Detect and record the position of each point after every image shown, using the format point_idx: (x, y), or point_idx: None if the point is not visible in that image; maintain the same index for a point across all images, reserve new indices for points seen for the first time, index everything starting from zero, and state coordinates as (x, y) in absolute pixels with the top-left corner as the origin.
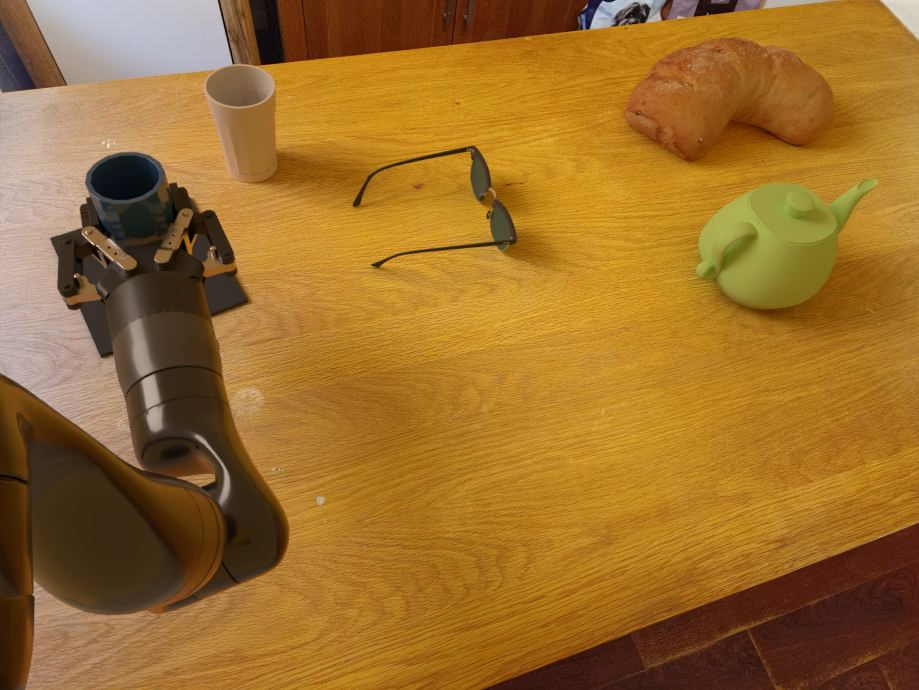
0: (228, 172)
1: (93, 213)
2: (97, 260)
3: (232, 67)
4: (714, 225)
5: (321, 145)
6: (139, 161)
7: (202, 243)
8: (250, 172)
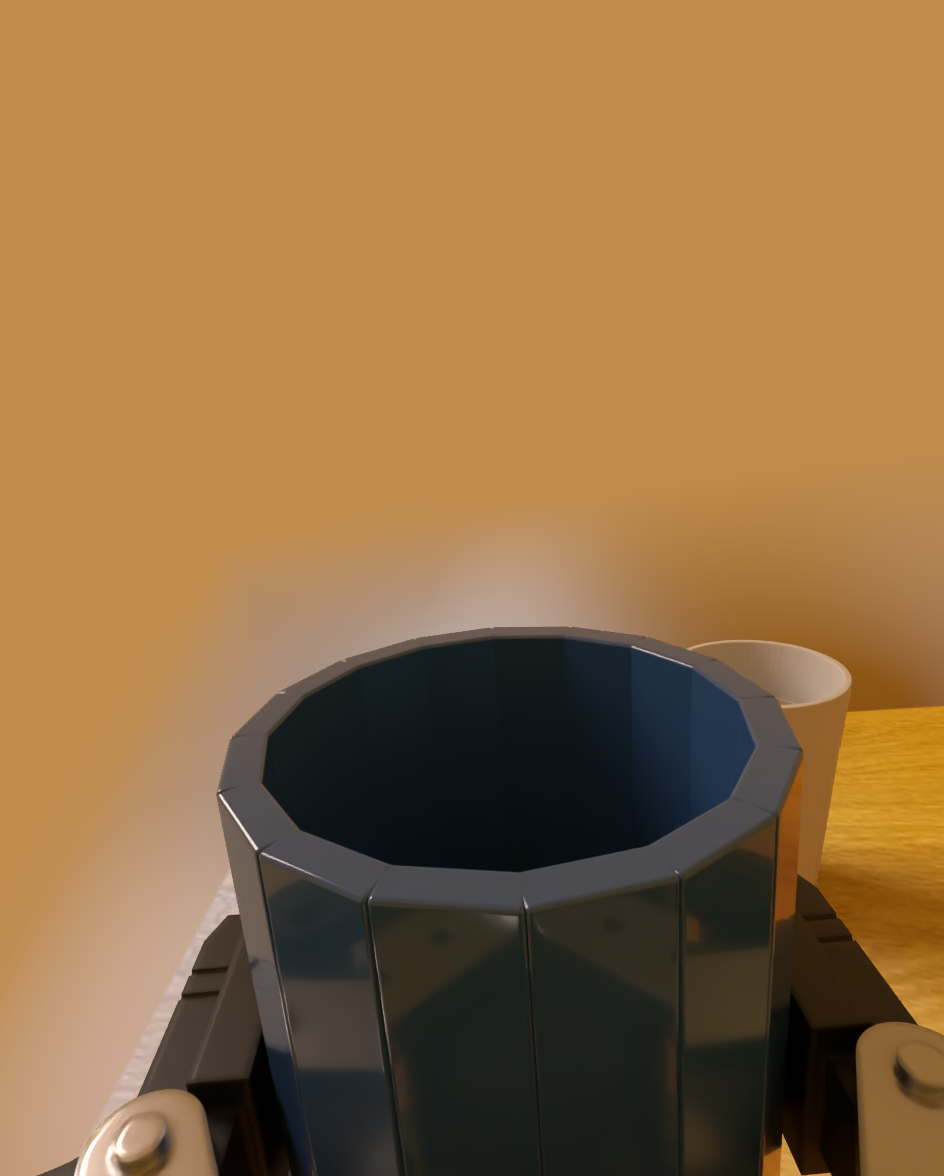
0: None
1: (252, 981)
2: None
3: (724, 645)
4: None
5: (911, 852)
6: (581, 677)
7: None
8: None
